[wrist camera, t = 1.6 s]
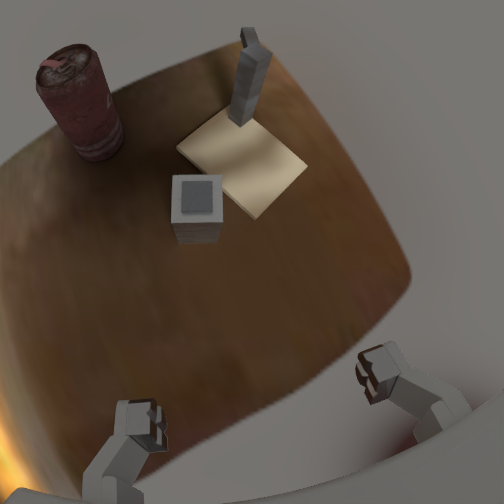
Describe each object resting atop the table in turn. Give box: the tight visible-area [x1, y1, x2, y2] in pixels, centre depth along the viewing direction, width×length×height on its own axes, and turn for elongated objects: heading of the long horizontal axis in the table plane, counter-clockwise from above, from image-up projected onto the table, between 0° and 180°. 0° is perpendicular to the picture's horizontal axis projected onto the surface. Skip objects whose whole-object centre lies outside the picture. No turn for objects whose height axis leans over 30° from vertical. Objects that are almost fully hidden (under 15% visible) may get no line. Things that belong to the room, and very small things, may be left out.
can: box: [36, 44, 124, 162], centre depth 24 cm, size 6×6×14 cm
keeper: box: [176, 27, 307, 220], centre depth 27 cm, size 13×11×12 cm
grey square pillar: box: [171, 175, 223, 244], centre depth 27 cm, size 4×4×9 cm
